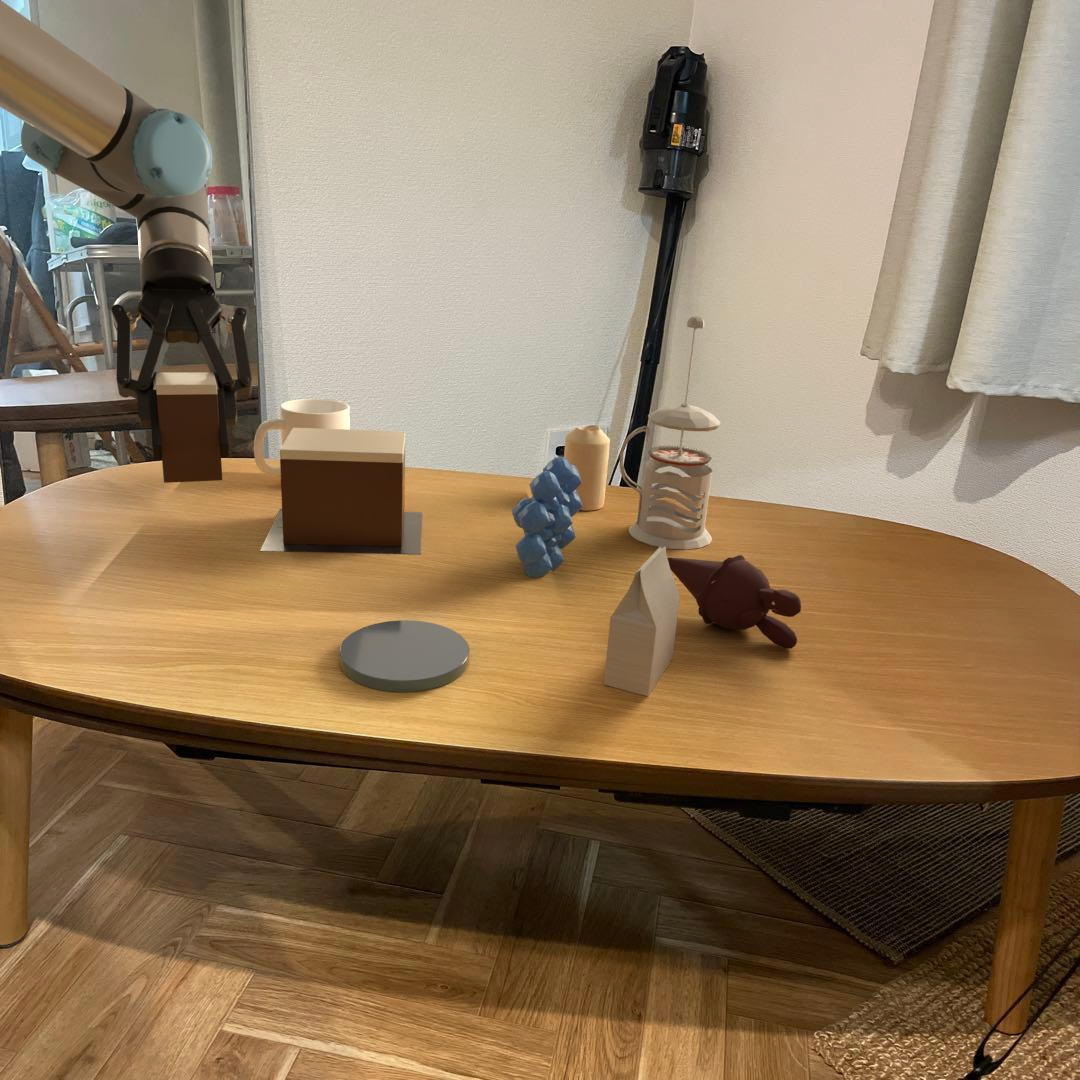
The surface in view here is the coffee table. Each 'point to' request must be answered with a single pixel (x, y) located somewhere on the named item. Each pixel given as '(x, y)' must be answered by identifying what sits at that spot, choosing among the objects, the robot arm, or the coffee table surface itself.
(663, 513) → the french press
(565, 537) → the grapes
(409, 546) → the cake board
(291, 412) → the cup
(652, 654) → the beige milk carton
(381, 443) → the cake
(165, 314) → the robot arm
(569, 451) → the candle
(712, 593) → the icecream
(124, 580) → the coffee table surface
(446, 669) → the plate
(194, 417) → the cake slice
